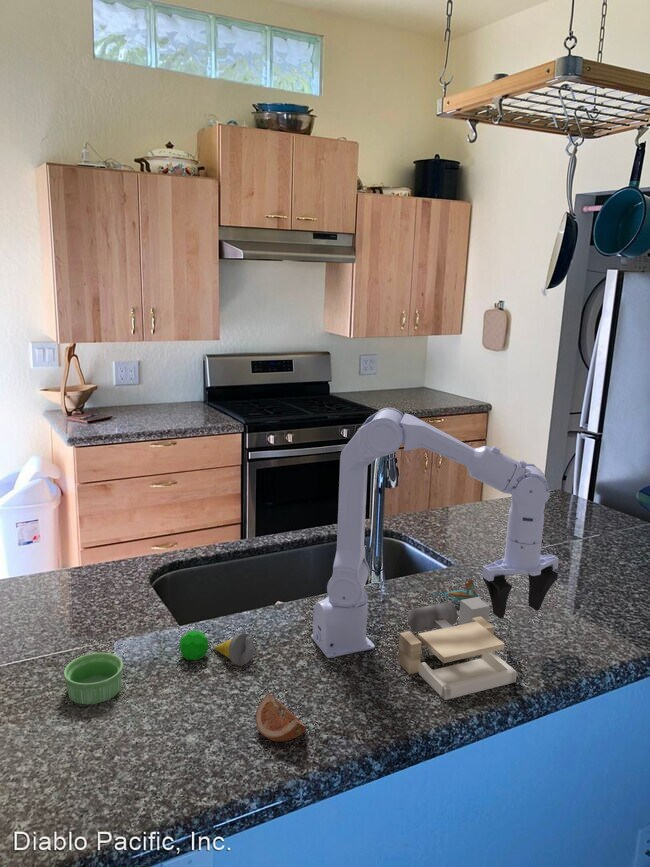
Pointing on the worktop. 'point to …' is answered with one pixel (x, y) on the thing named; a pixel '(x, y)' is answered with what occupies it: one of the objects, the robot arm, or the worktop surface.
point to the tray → (468, 676)
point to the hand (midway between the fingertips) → (516, 611)
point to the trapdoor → (451, 633)
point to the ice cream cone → (238, 649)
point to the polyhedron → (193, 645)
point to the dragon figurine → (462, 592)
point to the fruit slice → (277, 720)
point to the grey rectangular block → (473, 610)
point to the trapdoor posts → (412, 647)
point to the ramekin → (94, 677)
